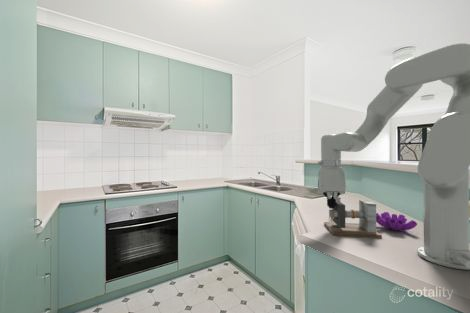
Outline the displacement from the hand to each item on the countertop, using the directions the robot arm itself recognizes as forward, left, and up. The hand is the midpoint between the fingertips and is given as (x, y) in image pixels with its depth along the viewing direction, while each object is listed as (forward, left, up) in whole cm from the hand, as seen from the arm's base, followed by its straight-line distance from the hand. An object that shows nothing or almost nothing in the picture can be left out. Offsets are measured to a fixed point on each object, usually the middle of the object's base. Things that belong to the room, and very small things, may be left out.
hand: (331, 207), depth 88 cm
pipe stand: (0, -7, -9) cm, 12 cm away
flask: (+22, -9, -10) cm, 26 cm away
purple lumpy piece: (+6, -26, -10) cm, 28 cm away
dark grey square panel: (0, -3, -7) cm, 7 cm away
